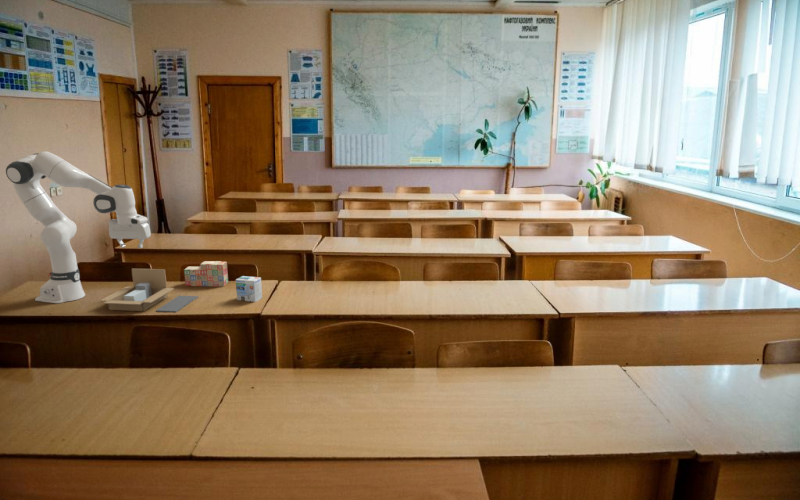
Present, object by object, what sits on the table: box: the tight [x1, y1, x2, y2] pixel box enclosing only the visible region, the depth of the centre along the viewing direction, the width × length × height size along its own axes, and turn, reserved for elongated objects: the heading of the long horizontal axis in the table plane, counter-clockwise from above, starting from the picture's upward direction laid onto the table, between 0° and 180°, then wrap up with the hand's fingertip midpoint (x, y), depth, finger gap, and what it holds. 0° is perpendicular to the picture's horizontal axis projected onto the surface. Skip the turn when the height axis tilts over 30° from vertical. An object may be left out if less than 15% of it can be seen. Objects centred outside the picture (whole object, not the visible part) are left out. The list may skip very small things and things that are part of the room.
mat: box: [155, 295, 199, 313], centre depth 286 cm, size 10×22×1 cm, turn 172°
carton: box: [99, 268, 175, 312], centre depth 286 cm, size 26×25×14 cm
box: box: [124, 283, 152, 301], centre depth 288 cm, size 5×15×8 cm, turn 172°
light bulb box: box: [235, 275, 263, 303], centre depth 291 cm, size 11×7×11 cm, turn 73°
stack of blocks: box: [183, 260, 229, 287], centre depth 316 cm, size 21×6×12 cm, turn 86°
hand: (131, 247), depth 283 cm, fingers open, 8 cm apart
